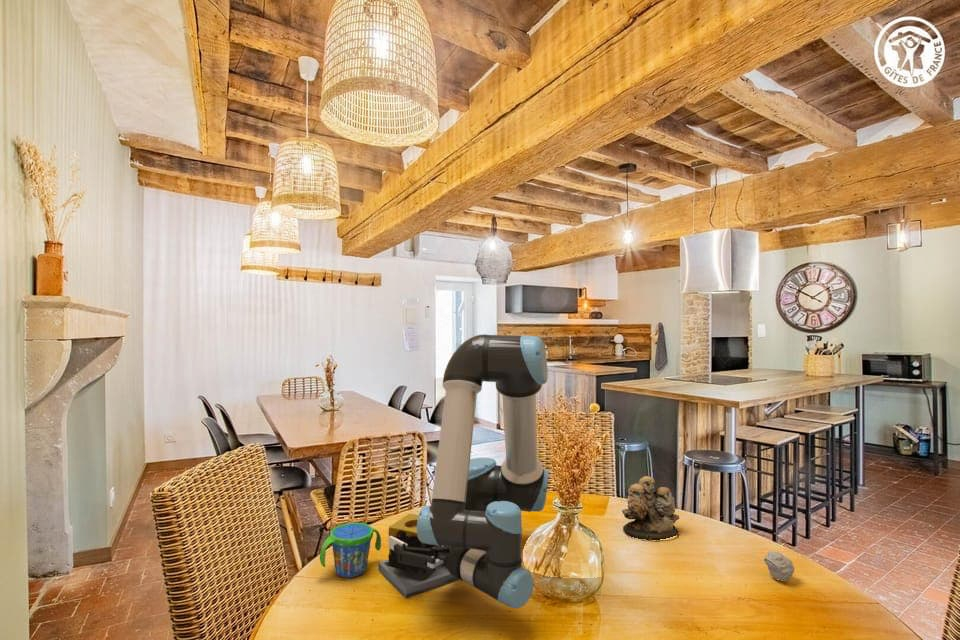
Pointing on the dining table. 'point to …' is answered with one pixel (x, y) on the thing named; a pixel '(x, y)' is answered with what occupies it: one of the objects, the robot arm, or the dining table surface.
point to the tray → (415, 579)
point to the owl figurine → (650, 511)
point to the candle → (407, 541)
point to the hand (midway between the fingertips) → (410, 533)
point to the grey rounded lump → (779, 566)
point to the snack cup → (350, 548)
